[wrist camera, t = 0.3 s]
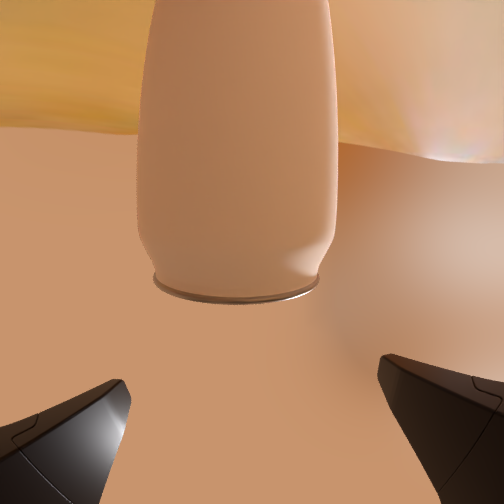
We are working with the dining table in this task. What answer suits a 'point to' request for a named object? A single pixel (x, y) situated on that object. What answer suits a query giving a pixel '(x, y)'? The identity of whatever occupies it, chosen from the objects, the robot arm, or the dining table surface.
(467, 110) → the dining table surface
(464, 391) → the robot arm
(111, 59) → the dining table surface
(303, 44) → the can
